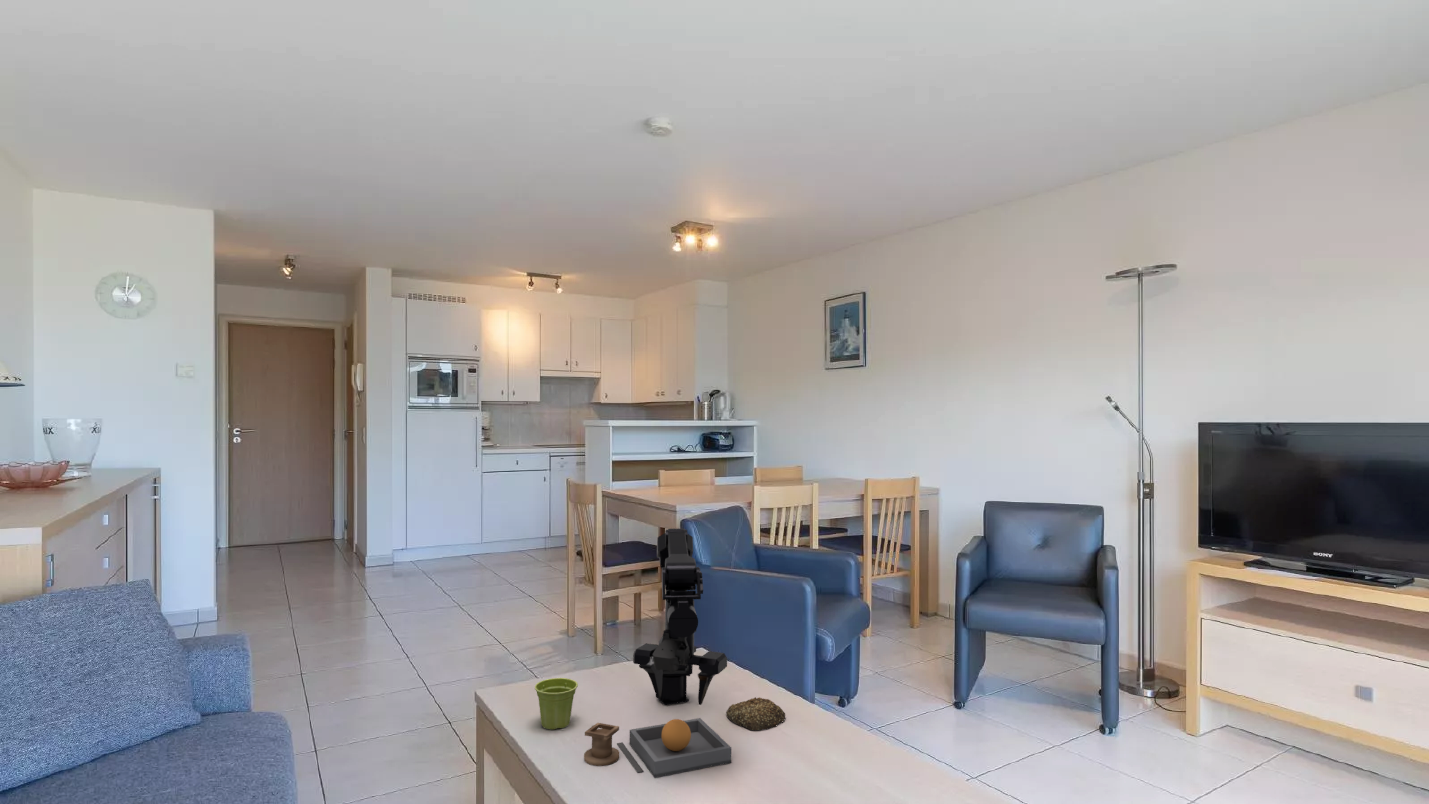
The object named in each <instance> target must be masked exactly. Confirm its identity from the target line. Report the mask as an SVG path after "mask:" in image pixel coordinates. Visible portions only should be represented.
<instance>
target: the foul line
mask: <svg viewBox="0 0 1429 804" xmlns="http://www.w3.org/2000/svg"><path fill="white" fill-rule="evenodd" d="M616 745H617V746H618V749H619V750H620V751H621V752H622V753H623V755H624V756H625V757H626V760H628V762H629V763H630V764H631V766H632V767H633V769H634V770H635V772H636V773H637V774H642V773H644V770H643V768H642V766H641V765H640V764H639V763H638V761H637V760H636V759H635V757H634V756H633V755H632V753H631V752H630V751H629V749H628V747H627V746H626V745H625V744H624V742H623V741H622V742H617V743H616Z"/></svg>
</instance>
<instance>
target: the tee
mask: <svg viewBox="0 0 1429 804" xmlns="http://www.w3.org/2000/svg"><path fill="white" fill-rule="evenodd" d="M618 731H620V726H619V725H613V724H607V723H603V722H596V723H595V724H594V725H592V726H591V727H589V728H588V729H587V730H586V731H584V736H585V737H589V738H590V737H591V748H589V749H587V750H586V751H585V752H584V755H583V760H584V762H585V763H586V764H587V765H590V766H595V767H601V766H602V767H603V766H604V767H605V766H610V765H613V764H615V763H617V762H618V761H619V759H620V751H619V749H618V748H616V747H613V735H615V734H616V733H617V732H618Z"/></svg>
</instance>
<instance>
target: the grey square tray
mask: <svg viewBox="0 0 1429 804" xmlns="http://www.w3.org/2000/svg"><path fill="white" fill-rule="evenodd" d="M683 721H684V722H685V723H687V725H688V726H689V728H690V731H691V738H690V742H689V744H688V745H687V746H686V747H685V748H684V749H682V750H680V751H672V750H669V749H668V748H666V746H665V745H664V744H663V741H662V737H661V734H662V729H663V727H664V726H665V724H666V723H662V724H661V723H660V724H655V725H650V726H644V727H638V728H631V729H629V740H628V741H629V746H631V749H633V751H634V752H635V753H636V754H637V756H638V757H639V760H641V761H642V764H644V765H645V767H646V768H647V770H648V771H649V772H650V773H651V775H652V776H653V778H654V779H656V778H661V777H665V776H670V775H676V774H680V773H686V772H691V771H696V770H701V769H706V768H712V767H718V766H723V765H728V764H732V746H731V745H729V744H728V743H727V742H726V741H725V740H724V739H723V738H722V737H721V736H720V735H719V734H718V733H717V732H716V731H715V730H714V729H712V727H710V726H709V725H708V723H706V722H705V720H704V719H702V718H701V717H697V718H692V719H686V720H683Z"/></svg>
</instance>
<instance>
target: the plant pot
mask: <svg viewBox="0 0 1429 804" xmlns="http://www.w3.org/2000/svg"><path fill="white" fill-rule="evenodd" d="M578 686H579V683H578V682H577V681H576V680H574V679H571V678H565V677H554V678H548V679H542V680H540V681H539V682H537V683H536V684H534V690H535V691H536V695H537V697H538V706H539V713H540V724H541V726H542V728H543V729H547V730H556V729H563V728H566V727H568V726H569V725H570V723H571V717H572V716H571V715H572V710H573V709H572V708H573V702H574V698H575V697H574V695H575V694H576V690H577V688H578Z"/></svg>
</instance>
